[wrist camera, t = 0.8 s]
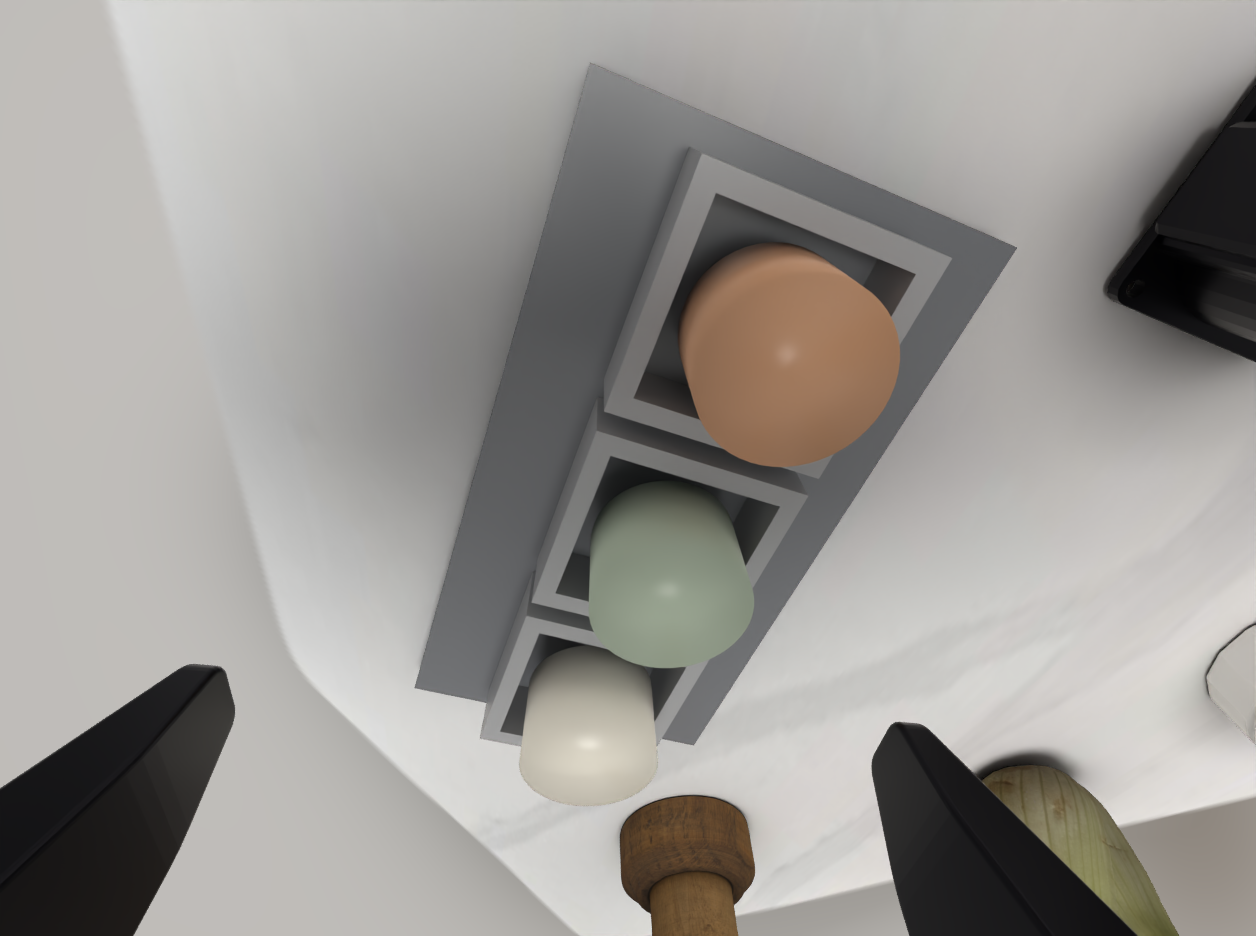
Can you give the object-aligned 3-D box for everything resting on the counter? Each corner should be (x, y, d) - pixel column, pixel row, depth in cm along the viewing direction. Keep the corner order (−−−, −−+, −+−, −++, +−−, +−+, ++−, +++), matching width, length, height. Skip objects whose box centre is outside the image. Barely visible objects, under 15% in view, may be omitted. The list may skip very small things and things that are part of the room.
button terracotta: (884, 279, 15) (941, 315, 13) (799, 430, 17) (833, 488, 15) (721, 213, 14) (747, 239, 12) (652, 381, 16) (661, 434, 14)
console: (996, 240, 17) (1070, 266, 15) (690, 725, 28) (700, 794, 25) (591, 64, 15) (588, 56, 12) (420, 667, 25) (398, 737, 23)
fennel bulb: (935, 797, 31) (1099, 1139, 21) (993, 738, 29) (1208, 1089, 19) (1030, 814, 32) (1229, 1147, 22) (1093, 758, 30) (1348, 1100, 20)
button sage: (758, 503, 18) (783, 569, 16) (699, 608, 21) (713, 681, 18) (619, 462, 18) (621, 525, 15) (572, 576, 20) (567, 648, 17)
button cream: (669, 661, 22) (678, 737, 19) (626, 737, 24) (629, 815, 21) (548, 633, 21) (541, 708, 18) (514, 715, 23) (503, 793, 20)
